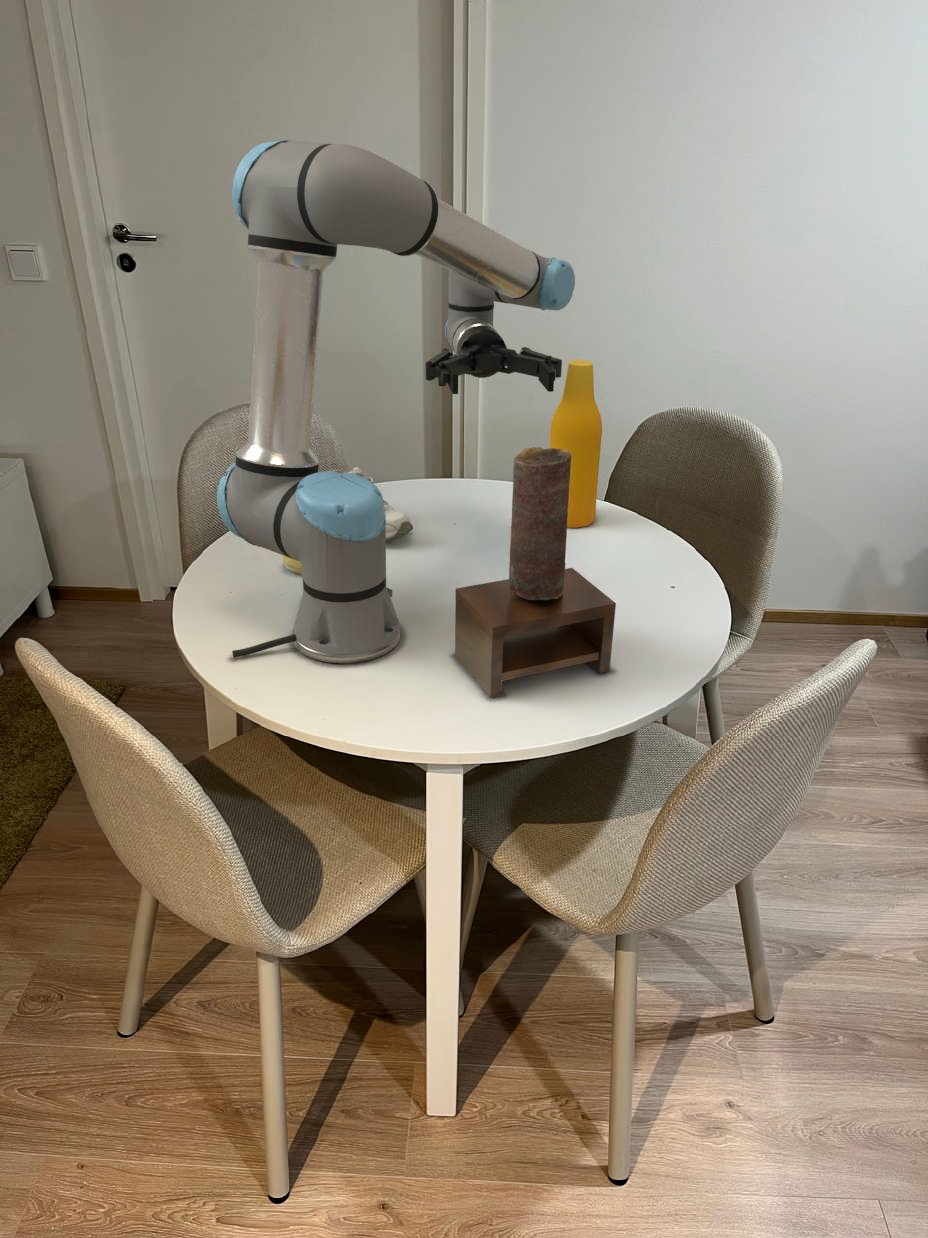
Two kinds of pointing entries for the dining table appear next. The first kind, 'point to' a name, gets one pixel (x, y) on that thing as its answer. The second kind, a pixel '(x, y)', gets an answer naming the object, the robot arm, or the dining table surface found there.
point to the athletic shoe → (388, 513)
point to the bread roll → (292, 565)
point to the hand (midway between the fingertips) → (503, 383)
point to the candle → (539, 523)
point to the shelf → (531, 630)
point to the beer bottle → (579, 441)
